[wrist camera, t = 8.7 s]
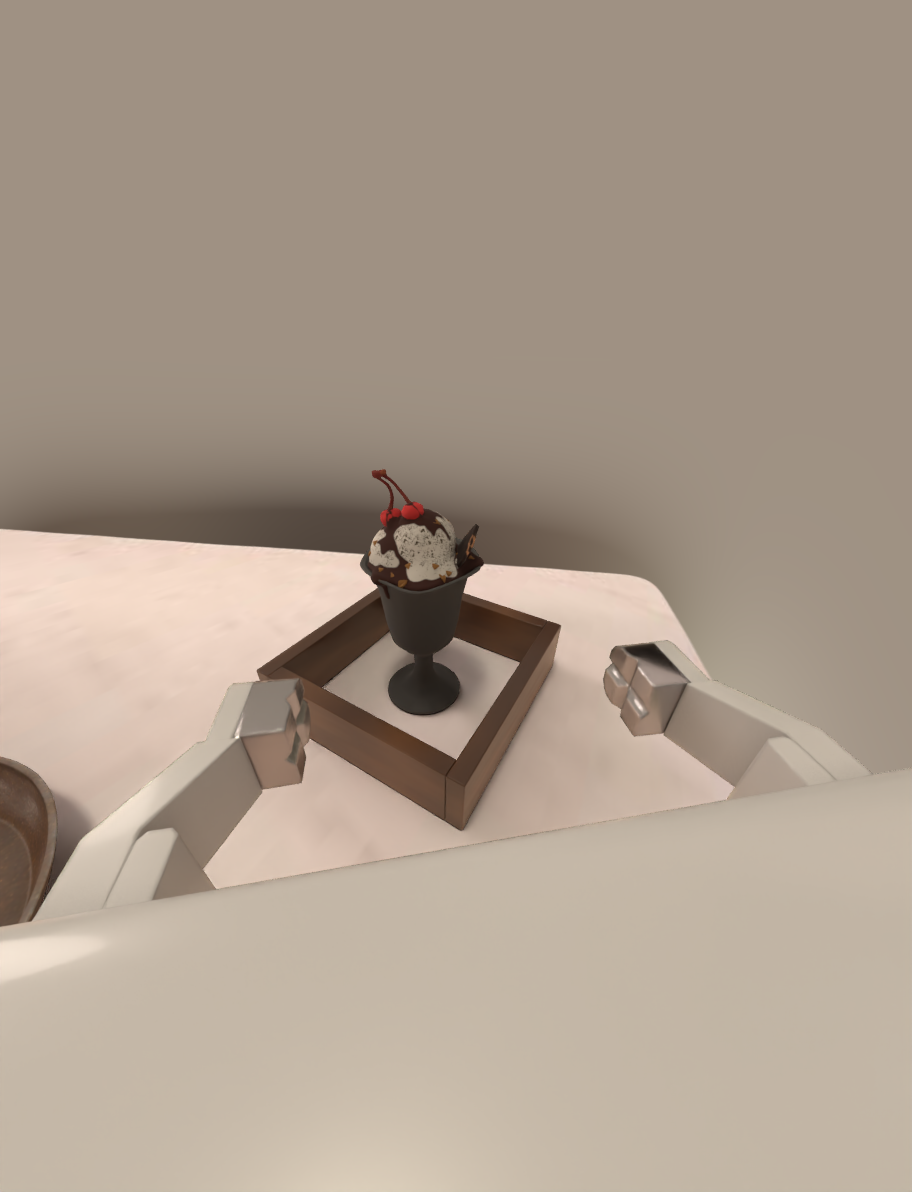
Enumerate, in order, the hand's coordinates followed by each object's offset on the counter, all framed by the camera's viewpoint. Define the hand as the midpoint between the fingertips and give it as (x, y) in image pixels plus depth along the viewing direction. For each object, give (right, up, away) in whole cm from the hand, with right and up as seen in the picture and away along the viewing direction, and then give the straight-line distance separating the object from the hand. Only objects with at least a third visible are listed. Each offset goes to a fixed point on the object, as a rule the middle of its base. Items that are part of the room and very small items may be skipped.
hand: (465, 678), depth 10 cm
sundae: (-3, -4, +17) cm, 18 cm away
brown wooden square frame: (-3, -4, +17) cm, 18 cm away
